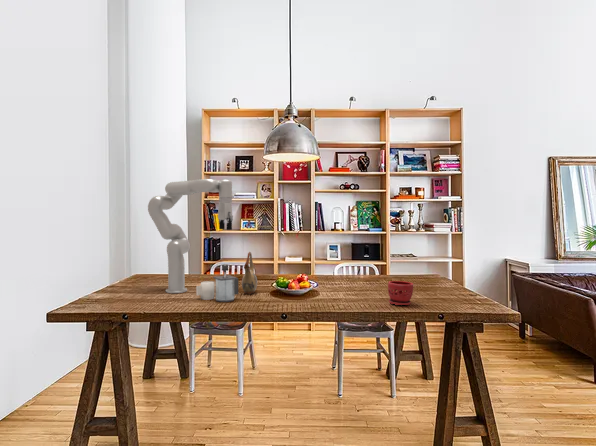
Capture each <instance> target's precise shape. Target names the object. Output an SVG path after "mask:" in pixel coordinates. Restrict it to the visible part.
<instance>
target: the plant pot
mask: <svg viewBox="0 0 596 446" xmlns="http://www.w3.org/2000/svg"><path fill="white" fill-rule="evenodd" d="M387 290H388V297H389V299H388V302H389V304H391V305H392V304H395V305H408V306H409V304H410V305H411V303H412V301H411V299H412V298H413V297H412V296H413V293H414V283H413V282H411V281H410V282H409V281H403V280H391V281H389V280H388V283H387ZM395 305H394V306H395Z"/></svg>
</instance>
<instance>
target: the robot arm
mask: <svg viewBox="0 0 596 446" xmlns="http://www.w3.org/2000/svg"><path fill="white" fill-rule="evenodd" d="M164 191H165V193H166V194H165V195H155V196H153V197H151V199H149V201H148V204H147V211H148V214H149V216H150V218H151V220H152V222H153V223H154V225H155V227H156V229H157V231H158V232H159V234H160V236H161V237H162V239H164V240H171V241H169V242H168V243H167V246H166V253H167V265H168V266H167V267H168V268H167V269H168V270H167V273H168V277H167V278H168V279H167V281H168V283H167V285H168V286H167V288H166V289H165V293H168V294H182V293H186V292H187V291H188V288H187V287H185V285H186V284H185V273H186V271H185V257H184V254H186V253H188V252H189V251H190V249H191V244H190V241H189V239H188V237H187V235H186V233H185V232H184V230H183V228H182V227H181V226H180V225H178V224H177V223H171V221H170V219H169V217H168V215H167V214H166V213H165V212H164V210H170V209H172V208H174V206H175V205H176V204H177V203H178V201H180V199H181V198H182V197H183V196H191V195H194V194H196V193H218V212H217V218H218V223H219V225H218V227H219V230H225V225H226V230H227V231H232V230H233V220H234V219H233V218H234V215H233V207H232V204H233V182H232V180H231V179H220V180H218V179H213V178H203V179H201V178H200V179H192V180H191V179H190V180H184V181H183V180H181V181H171V182H167V184H166V185H165V187H164ZM225 221H226V224H225Z"/></svg>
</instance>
